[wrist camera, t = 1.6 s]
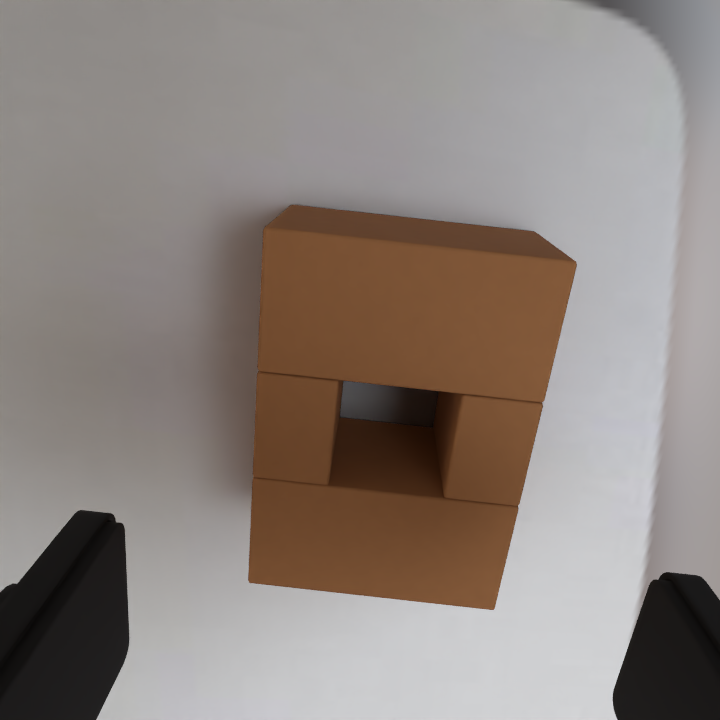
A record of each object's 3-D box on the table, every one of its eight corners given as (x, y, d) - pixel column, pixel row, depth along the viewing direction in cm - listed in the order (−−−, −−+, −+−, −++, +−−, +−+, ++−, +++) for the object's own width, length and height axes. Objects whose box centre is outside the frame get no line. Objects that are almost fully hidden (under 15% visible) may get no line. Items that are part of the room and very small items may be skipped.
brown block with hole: (290, 204, 17) (262, 227, 13) (536, 231, 17) (578, 262, 13) (272, 500, 21) (247, 583, 17) (475, 522, 21) (494, 610, 17)
